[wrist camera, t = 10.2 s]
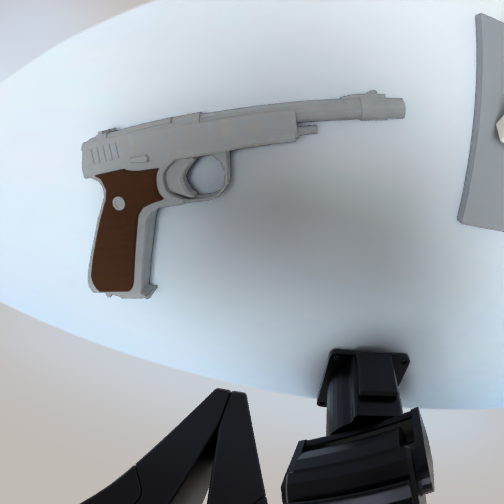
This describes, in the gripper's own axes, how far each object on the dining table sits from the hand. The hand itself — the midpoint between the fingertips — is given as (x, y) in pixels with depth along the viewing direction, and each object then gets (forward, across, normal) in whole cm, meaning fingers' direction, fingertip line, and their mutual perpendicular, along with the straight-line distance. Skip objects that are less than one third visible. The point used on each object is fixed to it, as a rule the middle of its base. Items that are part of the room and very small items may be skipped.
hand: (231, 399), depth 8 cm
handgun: (+14, +4, -1) cm, 14 cm away
